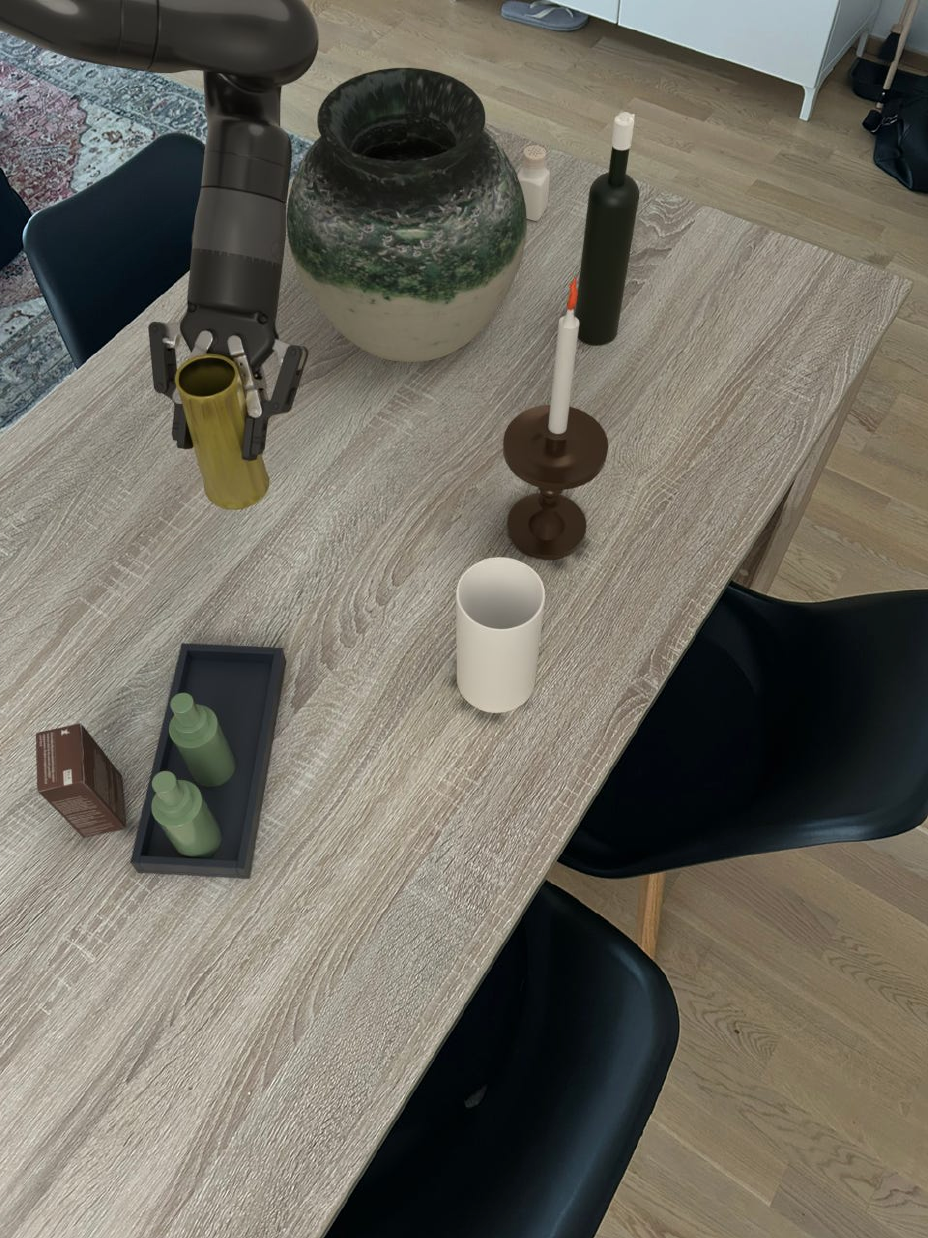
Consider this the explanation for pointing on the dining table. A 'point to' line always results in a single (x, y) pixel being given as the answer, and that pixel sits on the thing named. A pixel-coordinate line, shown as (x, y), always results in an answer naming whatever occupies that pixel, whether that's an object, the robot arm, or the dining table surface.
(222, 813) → the tray
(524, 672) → the cup
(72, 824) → the box
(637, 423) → the dining table surface
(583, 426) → the candlestick
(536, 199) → the pepper shaker
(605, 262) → the wine bottle
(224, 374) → the vase
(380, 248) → the vase
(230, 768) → the bottles
